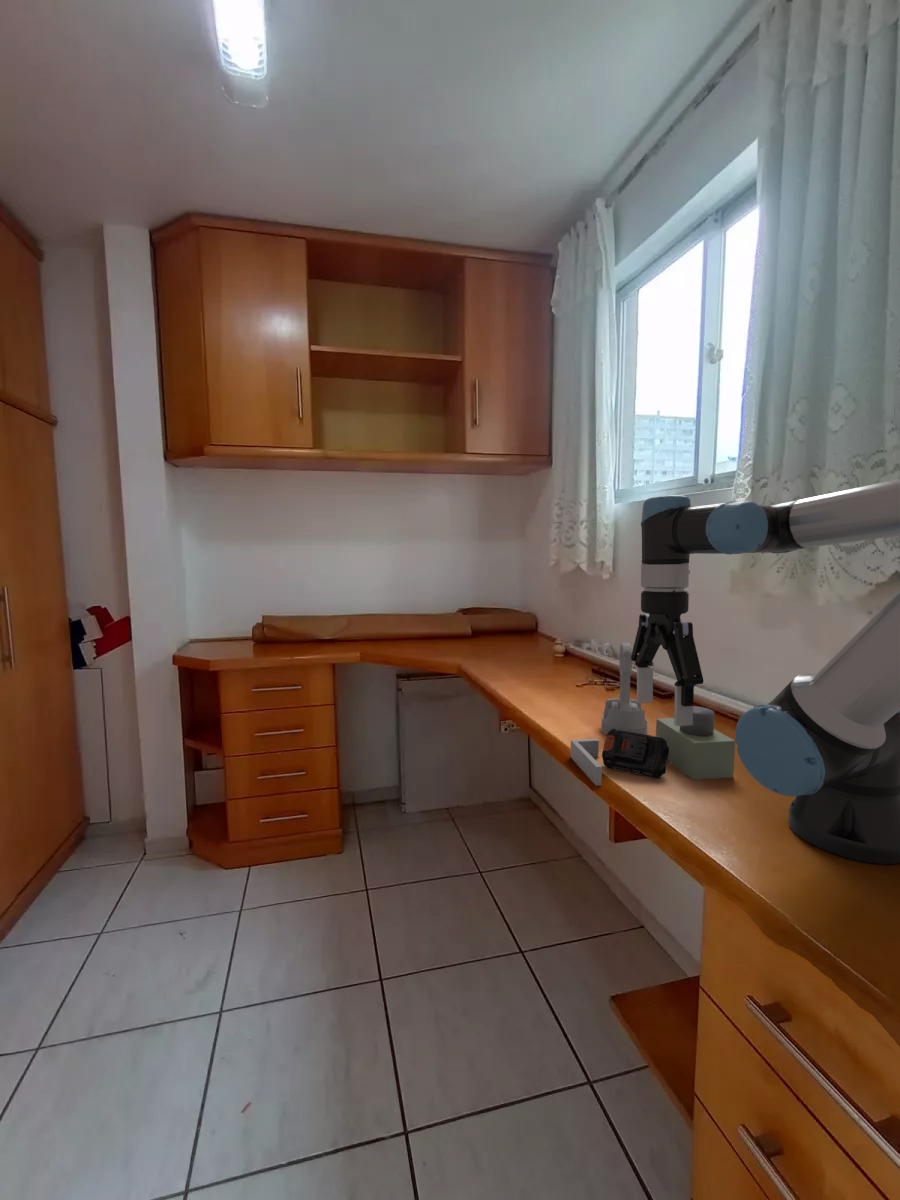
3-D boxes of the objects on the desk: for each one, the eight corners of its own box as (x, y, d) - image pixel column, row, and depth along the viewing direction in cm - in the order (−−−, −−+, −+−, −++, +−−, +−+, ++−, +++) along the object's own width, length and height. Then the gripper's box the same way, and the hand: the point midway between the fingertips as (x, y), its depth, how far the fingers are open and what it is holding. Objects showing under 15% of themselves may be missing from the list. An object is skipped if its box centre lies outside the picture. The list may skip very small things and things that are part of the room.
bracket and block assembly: (733, 777, 102) (736, 719, 101) (596, 785, 99) (597, 726, 97) (691, 749, 116) (693, 698, 114) (569, 755, 112) (570, 703, 111)
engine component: (602, 737, 123) (650, 740, 121) (605, 647, 121) (653, 648, 119) (599, 721, 134) (642, 724, 132) (601, 638, 131) (645, 640, 129)
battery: (601, 769, 110) (595, 759, 104) (613, 731, 113) (607, 719, 107) (664, 789, 103) (660, 779, 98) (674, 748, 106) (671, 736, 101)
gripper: (730, 594, 81) (727, 735, 82) (651, 585, 105) (649, 693, 107) (682, 595, 80) (679, 737, 82) (613, 586, 105) (612, 695, 106)
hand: (662, 713), depth 94 cm, fingers open, 13 cm apart
